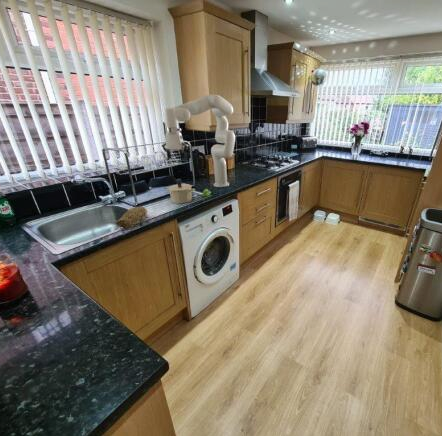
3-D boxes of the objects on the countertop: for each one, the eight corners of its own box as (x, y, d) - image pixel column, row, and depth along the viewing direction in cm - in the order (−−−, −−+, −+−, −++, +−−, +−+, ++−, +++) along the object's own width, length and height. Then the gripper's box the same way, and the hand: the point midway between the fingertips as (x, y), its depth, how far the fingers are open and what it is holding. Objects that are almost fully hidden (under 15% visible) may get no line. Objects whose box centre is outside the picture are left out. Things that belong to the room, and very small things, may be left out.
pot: (173, 196, 172) (171, 184, 169) (198, 196, 170) (197, 185, 167) (164, 202, 160) (161, 190, 157) (191, 203, 158) (190, 191, 154)
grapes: (204, 193, 176) (204, 187, 174) (211, 194, 176) (210, 187, 174) (200, 198, 168) (199, 191, 166) (207, 198, 167) (206, 192, 165)
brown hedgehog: (134, 232, 125) (156, 210, 140) (125, 220, 120) (150, 199, 136) (115, 233, 129) (139, 212, 145) (107, 221, 125) (132, 201, 140)
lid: (174, 185, 169) (173, 176, 167) (194, 185, 168) (193, 177, 165) (164, 191, 156) (163, 182, 154) (186, 192, 154) (185, 182, 152)
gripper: (188, 130, 151) (191, 158, 158) (162, 129, 153) (167, 157, 160) (183, 131, 144) (187, 160, 151) (156, 130, 147) (161, 159, 153)
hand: (176, 158), depth 156 cm, fingers open, 9 cm apart
